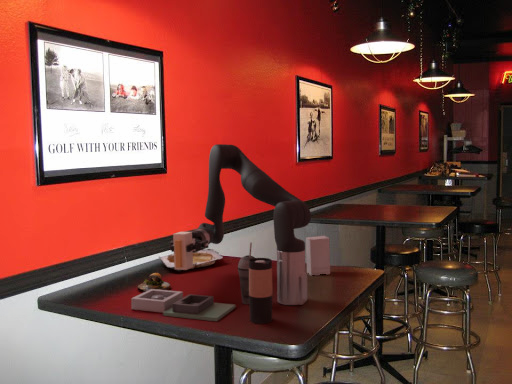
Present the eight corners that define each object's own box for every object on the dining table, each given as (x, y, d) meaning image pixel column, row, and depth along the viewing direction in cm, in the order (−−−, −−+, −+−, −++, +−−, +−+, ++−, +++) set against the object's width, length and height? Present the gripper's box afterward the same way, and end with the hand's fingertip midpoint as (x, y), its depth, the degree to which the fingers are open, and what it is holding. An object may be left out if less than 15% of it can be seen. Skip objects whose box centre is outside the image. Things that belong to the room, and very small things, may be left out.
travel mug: (253, 315, 162) (252, 257, 161) (275, 317, 160) (274, 258, 159) (246, 323, 155) (245, 261, 154) (269, 325, 153) (268, 263, 152)
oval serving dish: (235, 262, 238) (200, 254, 253) (234, 253, 238) (200, 246, 253) (178, 277, 215) (144, 268, 230) (178, 267, 214) (144, 258, 230)
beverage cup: (247, 297, 181) (246, 239, 180) (264, 301, 177) (263, 241, 175) (233, 302, 176) (232, 242, 174) (250, 306, 171) (249, 245, 169)
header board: (235, 307, 170) (235, 297, 170) (216, 321, 157) (216, 309, 157) (185, 302, 177) (184, 292, 176) (163, 315, 164) (162, 304, 163)
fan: (201, 298, 182) (201, 288, 182) (175, 314, 165) (175, 302, 165) (160, 294, 187) (160, 284, 187) (131, 309, 171) (131, 298, 170)
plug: (193, 266, 183) (191, 232, 182) (184, 270, 177) (182, 235, 176) (181, 266, 184) (180, 231, 183) (172, 270, 178) (170, 234, 177)
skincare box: (325, 271, 218) (325, 235, 216) (330, 274, 212) (330, 237, 211) (305, 272, 216) (305, 236, 215) (310, 276, 210) (310, 238, 209)
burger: (130, 290, 194) (130, 270, 194) (157, 284, 203) (156, 264, 202) (150, 296, 186) (150, 275, 186) (177, 289, 195) (176, 269, 194)
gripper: (177, 229, 196) (159, 237, 179) (215, 230, 193) (200, 237, 176) (178, 250, 197) (160, 259, 180) (216, 250, 193) (201, 260, 177)
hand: (180, 248), depth 178 cm, fingers closed on plug, 5 cm apart
